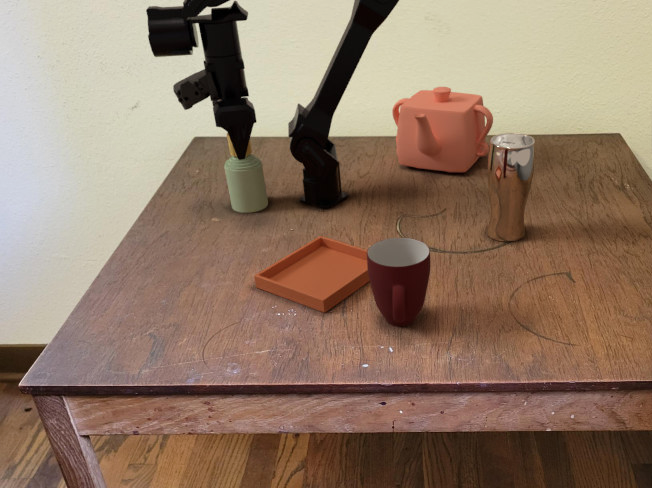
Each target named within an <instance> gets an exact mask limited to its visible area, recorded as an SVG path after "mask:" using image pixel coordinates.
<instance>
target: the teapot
mask: <svg viewBox="0 0 652 488" xmlns="http://www.w3.org/2000/svg"><path fill="white" fill-rule="evenodd" d="M391 113H392V114H391V115H392V118H393V120H394V123H395V125H396V127H397V130H396V135H395V144H396V156H397V160H398V163H399V164H400V165H401V166H406V167H411V168H414V169H421V170H422V169H424V170H430V171H439V172H440V171H441V172H446V173H451V174H453V173H466V172H468V170H470V168H472V166H474V164H475V163H476V162H477V161H478V159H479V158H480V157H485V156H488V154H489V149H490V144H489V143H488V142H487V141H486V137H487V136H488V134H489V133H490V131H491V129H492V127H493V125H494V116H493V114H492V112H491V111H490V109H489V108H488V107H486V106H484V99H483V96H482V95H480V94H473V93H467V92H456V91H452V88H450V87H447V86H437V87H434V88H433V89H432V90H431V89H430V90H429V89H428V90H427V89H421V90H419V91H417V92H416V93H415V94H412V96H411V97H405V98H401V99H398V100H397V101H396V102H395V104H394V105H393V107H392V112H391Z"/></svg>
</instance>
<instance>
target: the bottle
mask: <svg viewBox="0 0 652 488" xmlns="http://www.w3.org/2000/svg"><path fill="white" fill-rule="evenodd" d="M223 168H224V172H225V177H226V184H227V189H228V193H229V200H230V204H231V208H232V210H233V211H234V212H236V213H243V214H250V213H256V212H260V211H263V210H265V209H266V208H267V207H268V205H269V199H268V194H267V187H266V181H265V174H264V167H263V161H262V160H261V158H259V157H257V156H256V155H254V154H252V153H251V154H250V155H247V156H245V159H243V160H239V159H238V157H235V156H232V155H230V157H229V158H228V159H227V160H226V161H225V163H224V165H223Z"/></svg>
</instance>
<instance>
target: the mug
mask: <svg viewBox="0 0 652 488" xmlns="http://www.w3.org/2000/svg"><path fill="white" fill-rule="evenodd" d="M367 250H368V251H367V268H368V275H369V279H370V281H369V283H370V287H371V291H372V294H373V299H374V302H375V306H376V307H377V309H378V311H379V313H380V314H381V316H382V317H383V318H384V320H385V321H386V323H388V324H389V325H391V326H394V327H406V326H409V325H411V324H413V323H414V322H415V321H416V319H417V317H418V316H419V314H421V311H422V309H423V307H424V304H425V301H426V295H427V291H428V285H429V280H430V274H431V250H430V247H429V246H428V245H427V244H426V243H424V242H423V241H422V240H419V239H415V238H412V237H389V238H385V239H381V240H379V241H376V242H374V243H373V244H371V245H370V246H369V247H368V249H367Z"/></svg>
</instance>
